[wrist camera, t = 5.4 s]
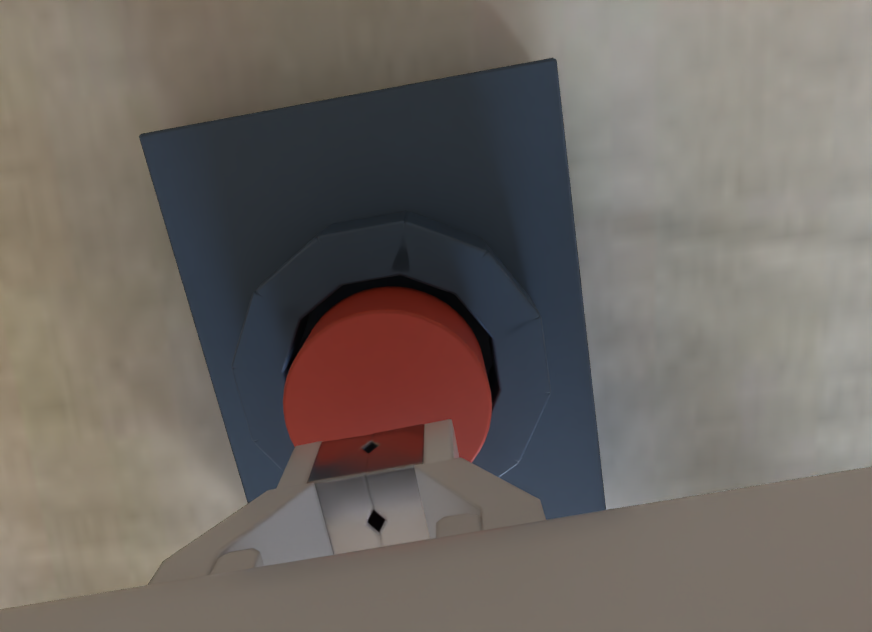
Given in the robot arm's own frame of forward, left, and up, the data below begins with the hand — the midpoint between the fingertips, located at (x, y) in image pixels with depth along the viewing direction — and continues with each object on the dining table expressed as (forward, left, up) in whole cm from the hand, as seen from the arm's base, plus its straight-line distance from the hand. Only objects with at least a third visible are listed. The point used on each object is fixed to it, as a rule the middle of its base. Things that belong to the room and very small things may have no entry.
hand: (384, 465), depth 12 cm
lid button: (0, 0, -4) cm, 4 cm away
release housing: (0, 0, -7) cm, 7 cm away
